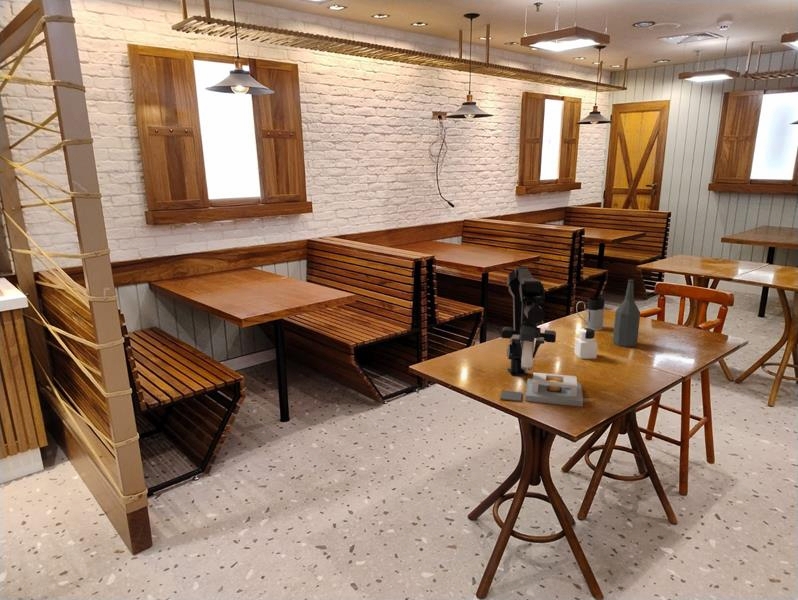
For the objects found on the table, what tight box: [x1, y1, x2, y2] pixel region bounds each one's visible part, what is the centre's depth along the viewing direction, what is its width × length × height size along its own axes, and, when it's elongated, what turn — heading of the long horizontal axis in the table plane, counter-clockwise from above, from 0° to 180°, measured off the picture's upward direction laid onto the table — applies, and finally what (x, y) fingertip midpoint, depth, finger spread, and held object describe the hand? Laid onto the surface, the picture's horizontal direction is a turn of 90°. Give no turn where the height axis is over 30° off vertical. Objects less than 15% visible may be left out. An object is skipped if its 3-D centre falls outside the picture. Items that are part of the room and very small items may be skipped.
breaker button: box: [548, 379, 561, 392], centre depth 195 cm, size 4×4×2 cm
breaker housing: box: [525, 372, 584, 408], centre depth 195 cm, size 16×19×6 cm
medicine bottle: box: [573, 327, 599, 360], centre depth 233 cm, size 7×7×12 cm
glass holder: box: [575, 296, 606, 331], centre depth 273 cm, size 9×14×15 cm, turn 91°
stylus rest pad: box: [500, 390, 523, 403], centre depth 194 cm, size 7×7×1 cm
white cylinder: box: [521, 340, 535, 371], centre depth 196 cm, size 4×4×11 cm
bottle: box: [612, 279, 641, 348], centre depth 246 cm, size 10×10×30 cm
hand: (527, 357), depth 197 cm, fingers closed on white cylinder, 4 cm apart
